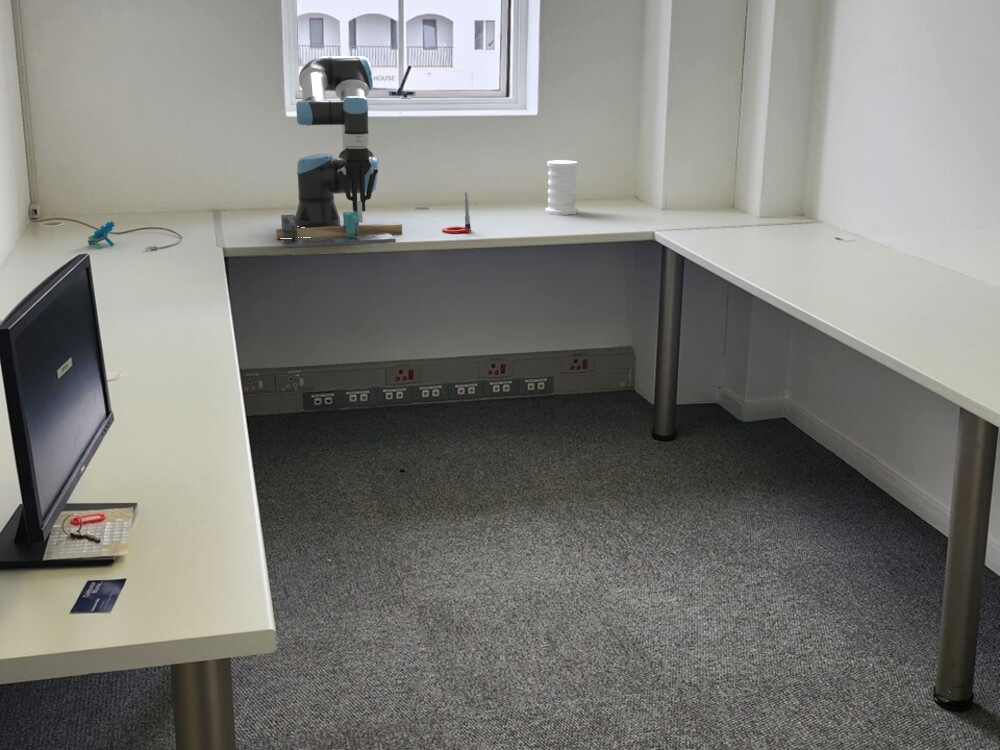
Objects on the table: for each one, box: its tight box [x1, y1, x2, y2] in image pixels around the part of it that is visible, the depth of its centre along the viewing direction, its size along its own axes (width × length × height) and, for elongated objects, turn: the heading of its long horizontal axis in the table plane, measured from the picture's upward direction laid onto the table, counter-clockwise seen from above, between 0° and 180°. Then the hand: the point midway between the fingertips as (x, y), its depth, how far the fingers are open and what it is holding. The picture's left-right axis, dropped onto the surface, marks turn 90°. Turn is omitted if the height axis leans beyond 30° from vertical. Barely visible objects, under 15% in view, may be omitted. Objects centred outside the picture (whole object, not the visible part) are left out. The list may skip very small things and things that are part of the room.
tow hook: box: [441, 191, 472, 234], centre depth 368 cm, size 8×13×9 cm
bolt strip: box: [281, 233, 397, 249], centre depth 351 cm, size 9×34×1 cm, turn 107°
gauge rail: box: [275, 214, 403, 240], centre depth 356 cm, size 12×40×7 cm, turn 107°
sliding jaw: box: [342, 211, 360, 237], centre depth 357 cm, size 12×4×6 cm, turn 17°
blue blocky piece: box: [87, 221, 115, 250], centre depth 343 cm, size 11×6×10 cm
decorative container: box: [544, 159, 579, 216], centre depth 403 cm, size 12×12×18 cm
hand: (359, 221), depth 361 cm, fingers closed
